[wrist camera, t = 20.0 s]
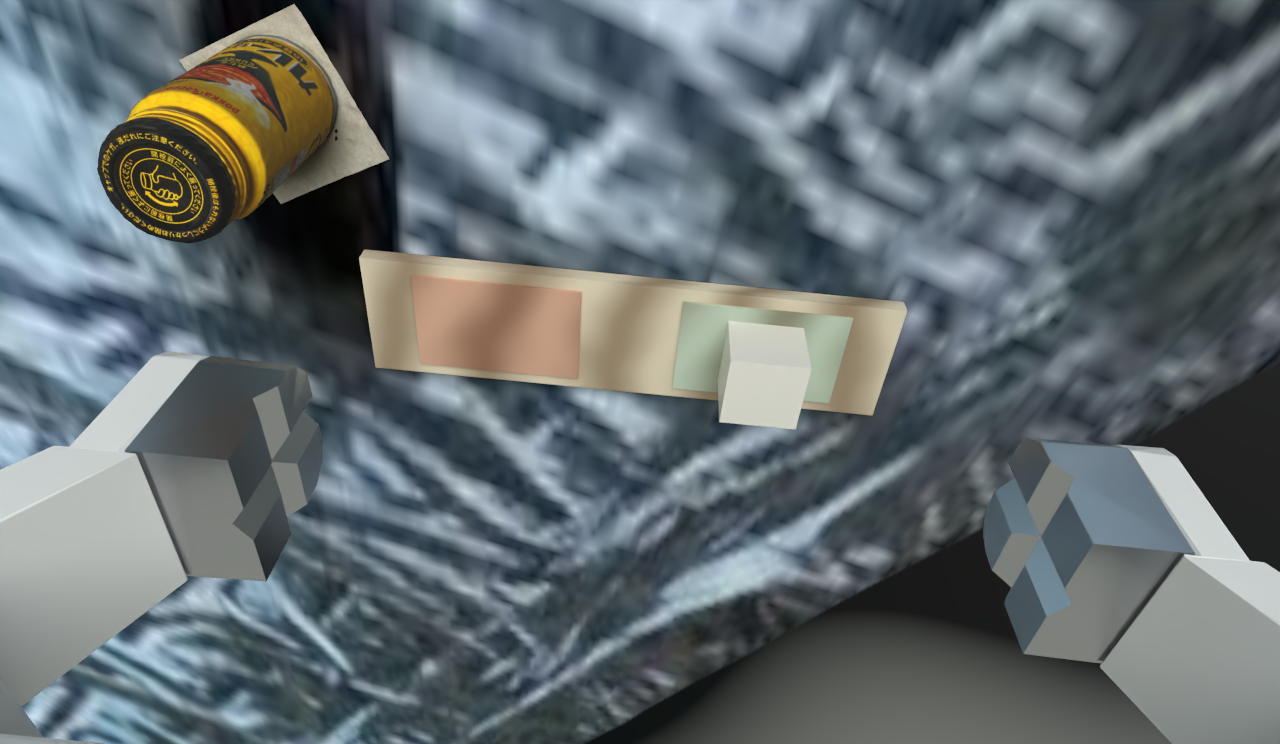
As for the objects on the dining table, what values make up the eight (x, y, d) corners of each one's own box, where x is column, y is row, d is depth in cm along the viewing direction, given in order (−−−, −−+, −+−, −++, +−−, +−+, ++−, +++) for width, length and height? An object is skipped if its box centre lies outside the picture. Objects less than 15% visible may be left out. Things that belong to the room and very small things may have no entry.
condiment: (296, 2, 39) (167, 79, 30) (390, 157, 44) (305, 267, 34) (181, 58, 41) (25, 147, 32) (283, 201, 46) (174, 316, 36)
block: (803, 328, 47) (811, 368, 44) (789, 387, 50) (795, 429, 47) (728, 320, 47) (730, 360, 44) (717, 380, 50) (719, 422, 47)
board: (903, 302, 47) (908, 313, 46) (869, 405, 52) (872, 417, 51) (364, 249, 47) (357, 259, 46) (380, 358, 52) (374, 369, 51)
